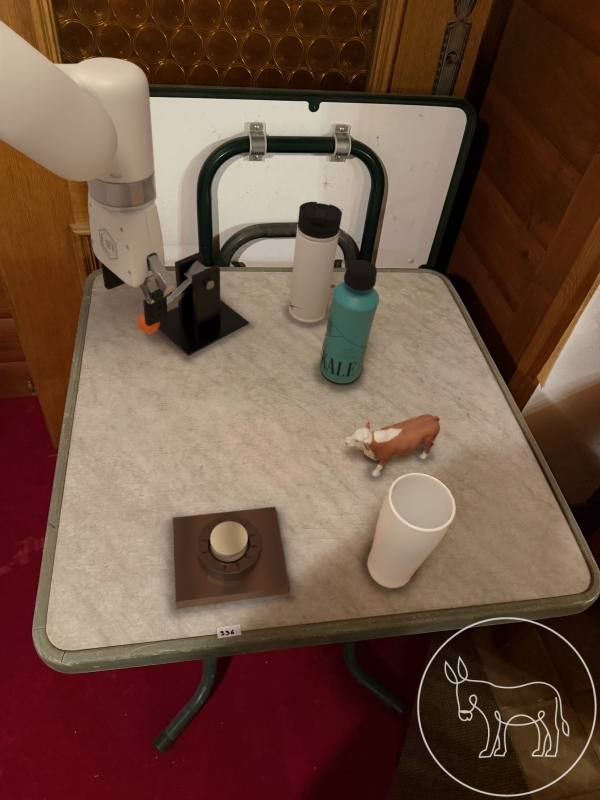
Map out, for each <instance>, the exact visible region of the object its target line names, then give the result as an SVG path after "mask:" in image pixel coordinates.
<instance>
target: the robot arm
mask: <svg viewBox="0 0 600 800" xmlns="http://www.w3.org/2000/svg"><path fill="white" fill-rule="evenodd" d="M151 114H152V113H151V98H150V87H149V81H148V78H147V76H146V74H145V72H144V71H143V69H142V68H141V67H140V66H138V65H137V64H136V63H134V62H132V61H128V60H125V59H122V58H116V57H106V56H105V57H92V58H87V59H84V60H82V61H79V62H78V63H53V61H51V60H50V59H48V58H47V57H46V56H45V55H44V54H43V53H41V52H40V51H39V50H37V48H35V47H34V46H33V45H31V43H29V42H28V41H27V40H26V39H24V38H23V37H22V36H21V35H19V34H18V33H17V32H16V31H14V29H12V28H11V27H10V26H9V25H7V24H6V23H5V22H4V21H2V20H1V19H0V140H1V141H3V142H5V143H6V144H7V145H9V146H11V147H12V148H14V149H15V150H16V151H18V152H20V153H21V154H23V155H25V156H26V157H28V158H29V159H31V160H33V161H34V162H36V163H37V164H38V165H41V166H42V167H44V168H45V169H47V170H48V171H50V172H51V173H53V174H54V175H56V176H57V177H60V178H63V179H64V180H68V181H71V182H86V183H87V188H88V191H87V209H88V211H87V212H88V221H89V230H90V231H89V232H90V239H91V247H92V251H93V253H94V256H95V257H96V258H97V259H98V260H99V262H100V266H101V273H102V279H103V285H104V288H105V289H106V290H112V289H115V288H117V287H120V286H122V285H125V284H127V286H130V287H132V288H138V287H139V288H140V289H141V292H142V294H143V297H144V298H145V299H143V300H142V306H143V312H144V316H145V324H146V325H147V326H151V325H153V324H156V323H158V322H160V321H162V320H165V319H166V318H167V317H168V313H167V297H169V296H170V295H171V294H172V293H173V290H174V289H175V287H176V286H175V285H176V284H175V283H176V282H175V281H174V279H173V277H172V276H171V275H170V273H169V272H168V270H167V268H166V262H165V261H166V260H165V248H164V240H163V234H162V226H161V222H160V216H159V212H158V207H157V203H156V199H157V185H156V171H155V170H156V169H155V157H154V144H153V143H154V142H153V141H154V140H153V128H152V115H151ZM148 271H150V272H151V275H148V276H147V274H148ZM152 281H154V282H155V284H156V286H157V289H155V290H154V291H151V289H150V287H149V284H148V283H149V282H152Z"/></svg>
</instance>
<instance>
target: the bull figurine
mask: <svg viewBox="0 0 600 800" xmlns="http://www.w3.org/2000/svg"><path fill="white" fill-rule="evenodd" d="M365 424H366V425H365V427H360V428H357V429H356V430H354V432H353V433H352V434H351V435H348V436H346V437H345V439H344V440H345V445H346V446H347V447H349V448H353V447H355V448H357V449H359V450H362V451H363V454H364V455H365V456H366V457H368V458H370V459H372V460H373V461H375V462H377V461H379V462H377V464H376V468H375V469H374V470H373V471H372V472H371V475H372V477H373V476H374V477H378V476H380V475H381V470H383V469H384V468H385V466H386V464H388V463H389V462H390V460H391V459H393V457H399V456H406V455H410V454H412V453H414V452H416V450H417V449H419V447H420V446H423V448H424V449H423V451H422V452H421V453H419V458H421V459H423V460H425V459H426V458H427V457H429V452H430V450H431V448H433V446H434V441H435V440H436V438H437V436H438V435H439V433H440V431H441V424H440V417H439V416H437V415H432V414H430V413H429V414H428V413H427V414H421V415H418V416H416V417H411V418H409V419H406V420H403V421H401V422H400V421H399V422H397V423H394V424H392V425H387V426H385V427H382V428H380V429H377V430H375V431H370V430H371V425H370V421H367V422H366V423H365Z"/></svg>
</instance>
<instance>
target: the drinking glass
mask: <svg viewBox="0 0 600 800" xmlns="http://www.w3.org/2000/svg"><path fill="white" fill-rule="evenodd" d="M456 510H457V509H456V501H455V498H454V496H453V493H452V491H451V490H450V489H449V487H447V485H445V484H444V483H443V482H442V481H441V480H440V479H438V478H437V477H435V476H432V475H430V474H427V473H422V472H408V473H405V474H402V475H400V476H399V477H397V478H396V479H395V480H393V482H392V483H391V485H390V486H389V489H388V490H387V493H386V495H385V497H384V500H383V502H382V505H381V507H380V510H379V514H378V518H377V523H376V527H375V531H374V536H373V539H372V544H371V547H370V552H369V554H368V557H367V561H366V563H367V570H368V573H369V575H370V577H371V578H372V579H373V580H374V581H375V582H376V583H377V584H378V585H380V586H382V587H385V588H388V589H397V588H401V587H404V586H405V585H406V584H408V582H409V581H410V580H412V579H411V578H412V577H413V575H414V574H415V573H416V572H417V570H418V569H419V568H420V567H421V565H422V564H424V562H425V561H426V560H427V558H428V557H429V556H430V555H431V554H432V552H434V551H435V549H436V548H437V547H438V545H440V543H441V541H443V539H444V537H445V536H446V534H447V532H448V530H449V528H450V526H451V524H452V522H453V521H454V518H455V516H456Z"/></svg>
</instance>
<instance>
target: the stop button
mask: <svg viewBox="0 0 600 800" xmlns="http://www.w3.org/2000/svg"><path fill="white" fill-rule="evenodd" d="M247 543H248V535H247V532H246V530H245V528H244V527H243V526H242V525H240V524H239V523H237V522H233V521H227V522H223V523H220V524H219V525H217V526H216V527H215V528H214V529H213V531H212V533H211V537H210V544H211V551H212V553H213V555H214V556H215V557H216V558H217V559H219V560H221V561H224V562H232V561H236V560H238V559H240V558H241V557H242V556H243V555H244V554H245V552H246V550H247Z"/></svg>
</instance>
